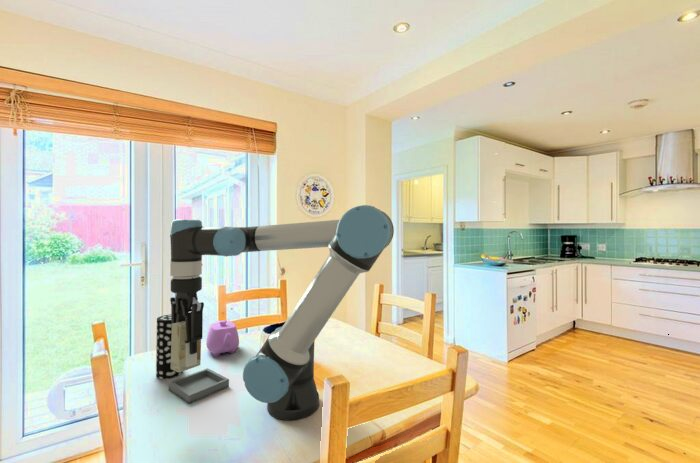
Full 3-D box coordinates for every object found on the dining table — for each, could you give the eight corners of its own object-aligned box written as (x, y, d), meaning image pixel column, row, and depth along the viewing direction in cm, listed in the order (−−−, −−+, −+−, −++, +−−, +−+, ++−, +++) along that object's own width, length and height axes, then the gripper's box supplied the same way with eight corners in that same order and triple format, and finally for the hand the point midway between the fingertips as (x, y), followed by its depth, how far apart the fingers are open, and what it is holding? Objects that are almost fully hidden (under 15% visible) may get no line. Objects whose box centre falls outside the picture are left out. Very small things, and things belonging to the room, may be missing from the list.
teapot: (202, 346, 139) (203, 317, 139) (232, 341, 146) (232, 313, 146) (211, 363, 122) (211, 330, 122) (244, 356, 129) (244, 325, 129)
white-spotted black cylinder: (171, 380, 108) (171, 321, 108) (150, 377, 110) (150, 319, 110) (188, 369, 117) (189, 315, 116) (168, 367, 118) (169, 313, 118)
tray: (228, 386, 105) (228, 379, 105) (189, 404, 94) (189, 395, 94) (207, 375, 113) (207, 368, 112) (168, 390, 102) (168, 382, 102)
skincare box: (179, 373, 83) (179, 326, 83) (169, 369, 85) (170, 323, 85) (202, 364, 88) (202, 320, 88) (192, 361, 90) (193, 318, 90)
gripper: (217, 278, 84) (217, 366, 84) (184, 272, 95) (184, 350, 95) (189, 281, 78) (188, 376, 78) (157, 275, 89) (157, 359, 89)
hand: (186, 362), depth 87 cm, fingers closed on skincare box, 4 cm apart
